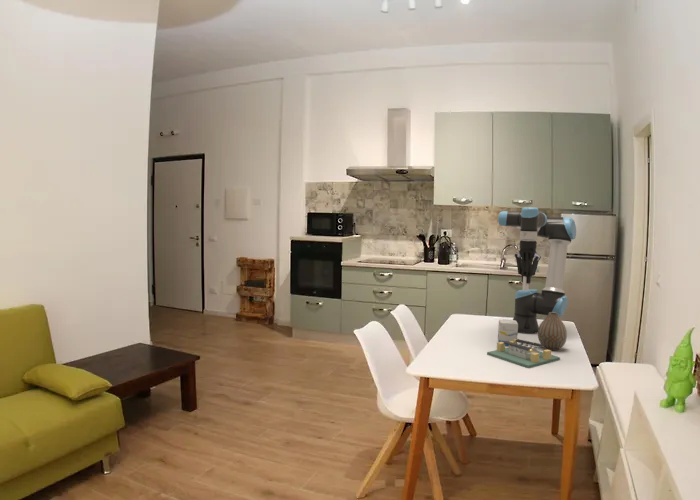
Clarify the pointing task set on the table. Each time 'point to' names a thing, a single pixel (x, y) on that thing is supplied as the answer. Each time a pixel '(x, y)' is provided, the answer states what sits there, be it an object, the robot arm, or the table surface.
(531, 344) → the strap
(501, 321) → the ink box
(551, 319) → the vase
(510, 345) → the strap
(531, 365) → the board
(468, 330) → the table surface
